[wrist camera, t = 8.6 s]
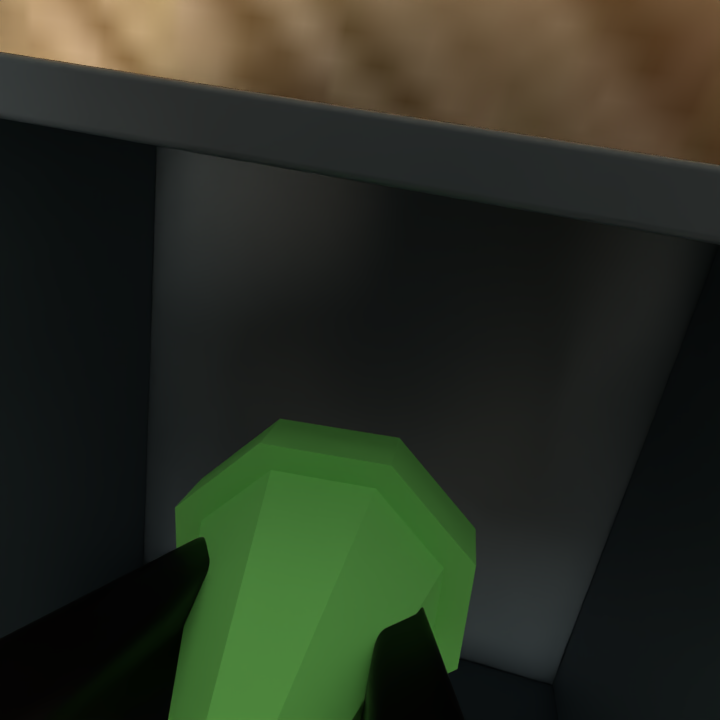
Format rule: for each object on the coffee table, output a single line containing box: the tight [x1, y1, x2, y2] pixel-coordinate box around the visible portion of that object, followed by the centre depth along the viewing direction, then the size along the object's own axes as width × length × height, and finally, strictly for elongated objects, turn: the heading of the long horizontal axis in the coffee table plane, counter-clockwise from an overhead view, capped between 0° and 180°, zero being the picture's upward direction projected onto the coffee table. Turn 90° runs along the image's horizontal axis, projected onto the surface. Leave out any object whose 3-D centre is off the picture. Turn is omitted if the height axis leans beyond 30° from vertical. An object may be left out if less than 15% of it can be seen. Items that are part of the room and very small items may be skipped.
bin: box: [0, 52, 720, 720], centre depth 9 cm, size 11×11×6 cm
